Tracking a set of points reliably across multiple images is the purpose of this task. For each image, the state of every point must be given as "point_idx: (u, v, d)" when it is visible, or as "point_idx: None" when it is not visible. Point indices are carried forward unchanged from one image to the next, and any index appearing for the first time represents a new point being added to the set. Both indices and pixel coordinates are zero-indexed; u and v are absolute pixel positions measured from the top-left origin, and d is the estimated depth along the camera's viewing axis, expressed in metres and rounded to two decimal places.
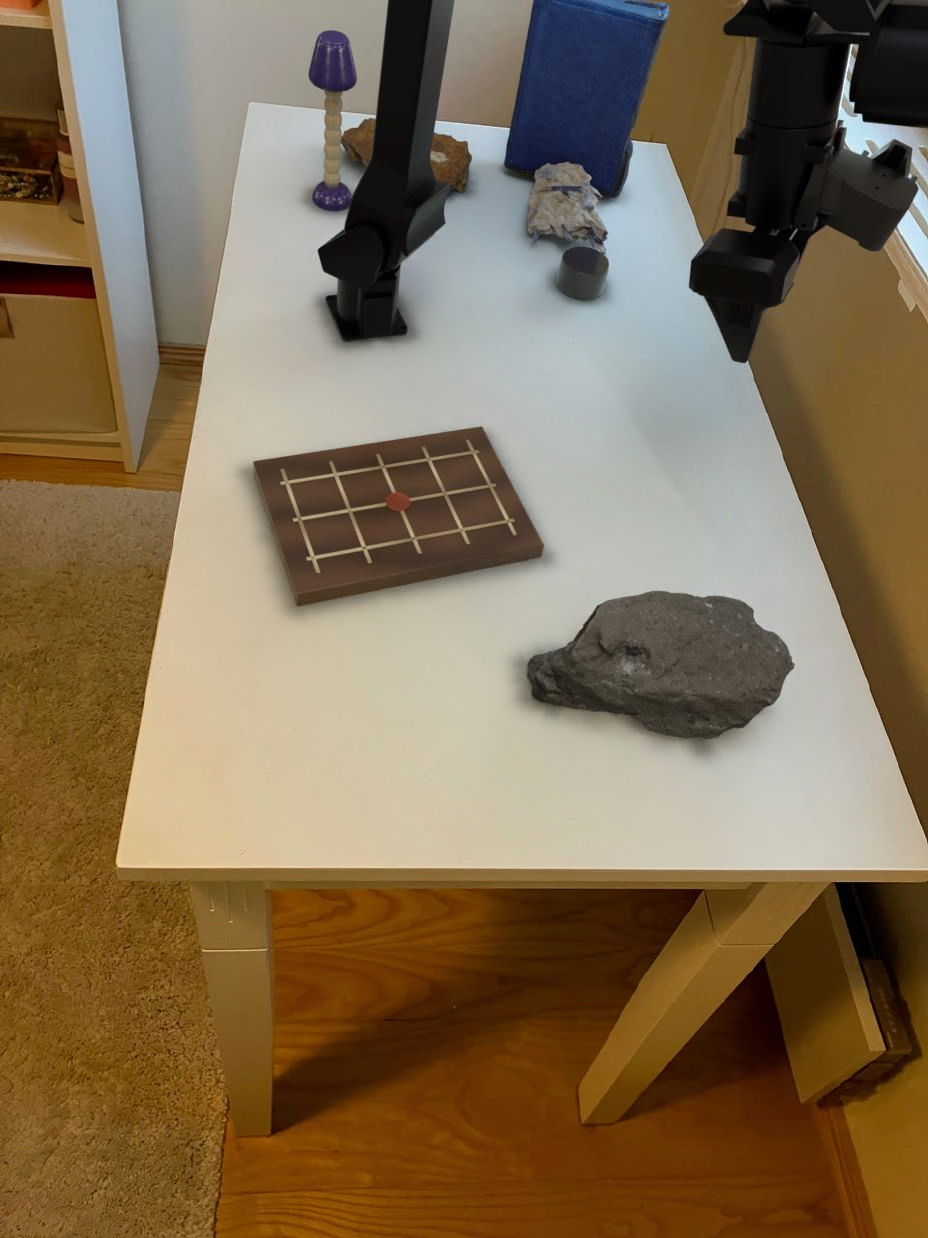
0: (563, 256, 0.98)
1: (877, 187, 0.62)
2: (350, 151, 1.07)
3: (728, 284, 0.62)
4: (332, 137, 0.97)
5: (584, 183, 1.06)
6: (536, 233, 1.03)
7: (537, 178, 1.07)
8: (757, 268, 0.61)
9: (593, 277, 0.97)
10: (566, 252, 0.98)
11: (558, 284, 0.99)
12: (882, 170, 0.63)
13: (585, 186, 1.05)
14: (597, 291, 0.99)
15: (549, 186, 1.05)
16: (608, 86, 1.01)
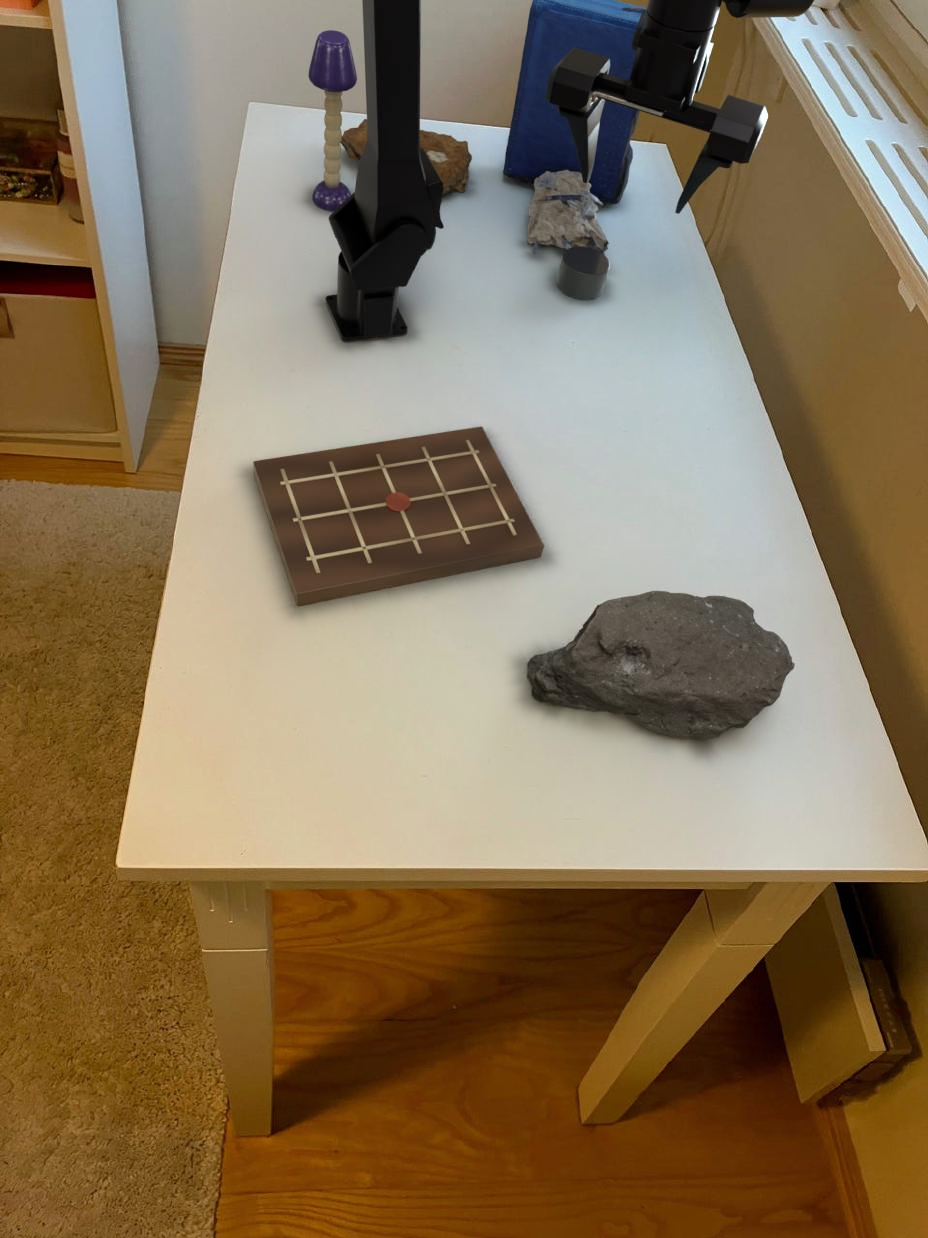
0: (563, 256, 0.98)
1: None
2: (350, 151, 1.07)
3: (758, 140, 0.83)
4: (332, 137, 0.97)
5: (584, 191, 1.05)
6: (536, 244, 1.03)
7: (536, 187, 1.07)
8: (766, 116, 0.83)
9: (593, 277, 0.97)
10: (566, 252, 0.98)
11: (558, 284, 0.99)
12: None
13: (585, 195, 1.05)
14: (597, 291, 0.99)
15: (549, 195, 1.05)
16: None
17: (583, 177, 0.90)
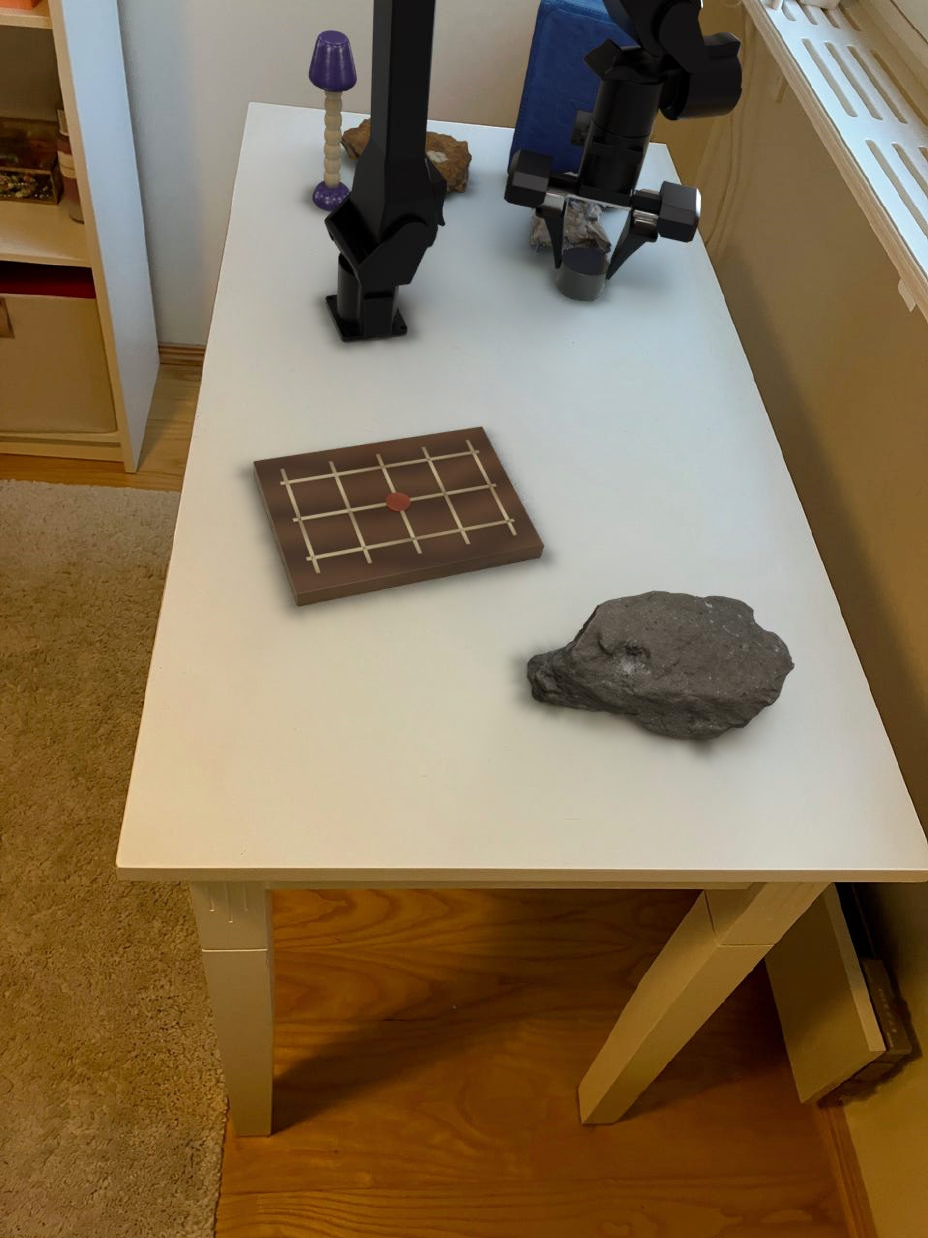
0: (562, 256, 0.98)
1: None
2: (350, 151, 1.07)
3: None
4: (332, 137, 0.97)
5: None
6: (539, 245, 1.02)
7: None
8: (699, 197, 0.93)
9: (592, 278, 0.97)
10: (565, 253, 0.98)
11: (557, 284, 0.99)
12: None
13: None
14: (596, 292, 0.99)
15: None
16: None
17: (556, 264, 0.99)
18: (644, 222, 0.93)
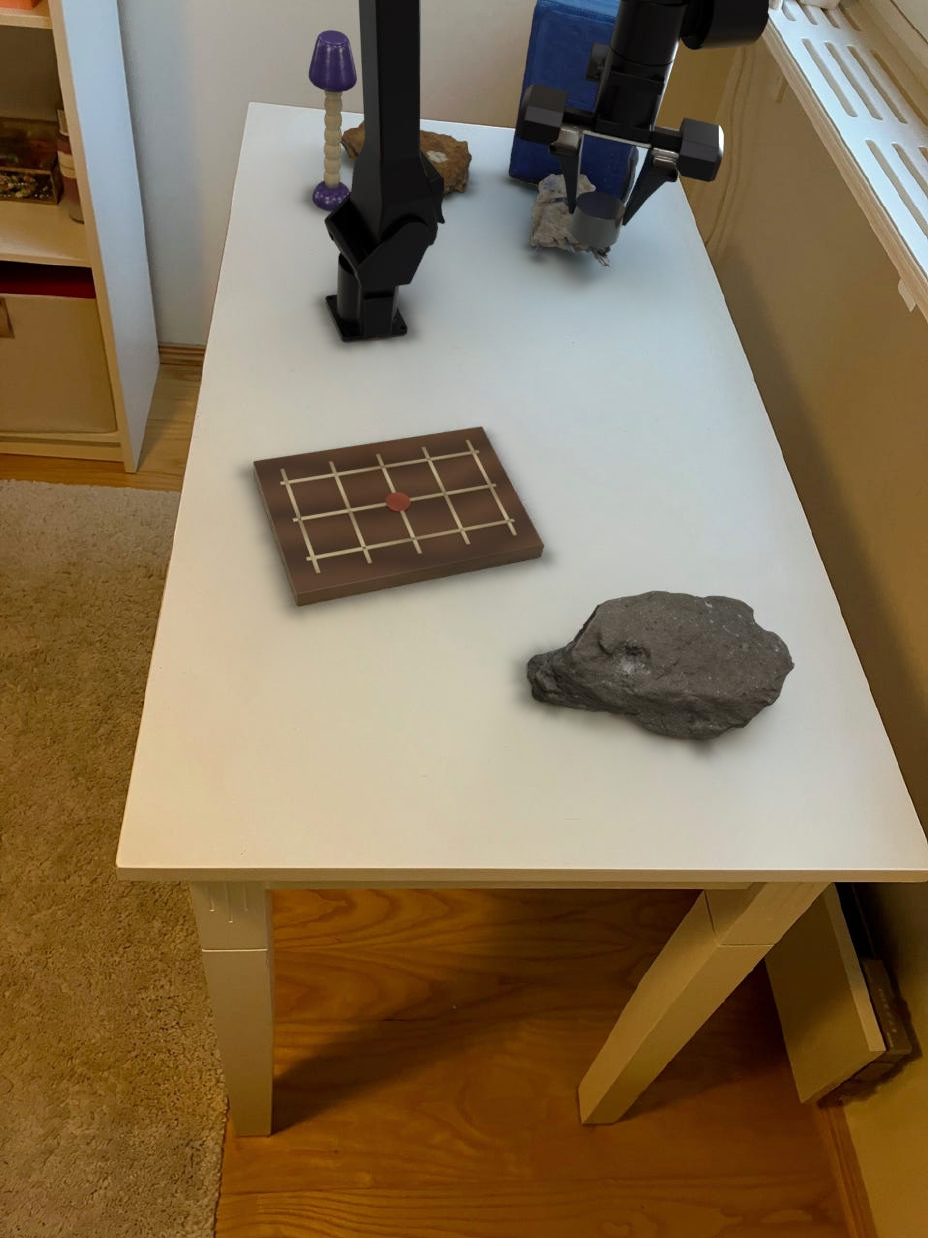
0: (577, 200, 0.93)
1: None
2: (350, 151, 1.07)
3: None
4: (332, 137, 0.97)
5: None
6: (539, 246, 1.03)
7: (541, 189, 1.06)
8: (722, 135, 0.88)
9: (608, 223, 0.92)
10: (579, 197, 0.93)
11: (571, 231, 0.95)
12: None
13: None
14: (612, 238, 0.94)
15: (552, 197, 1.04)
16: None
17: (570, 209, 0.94)
18: (664, 161, 0.88)
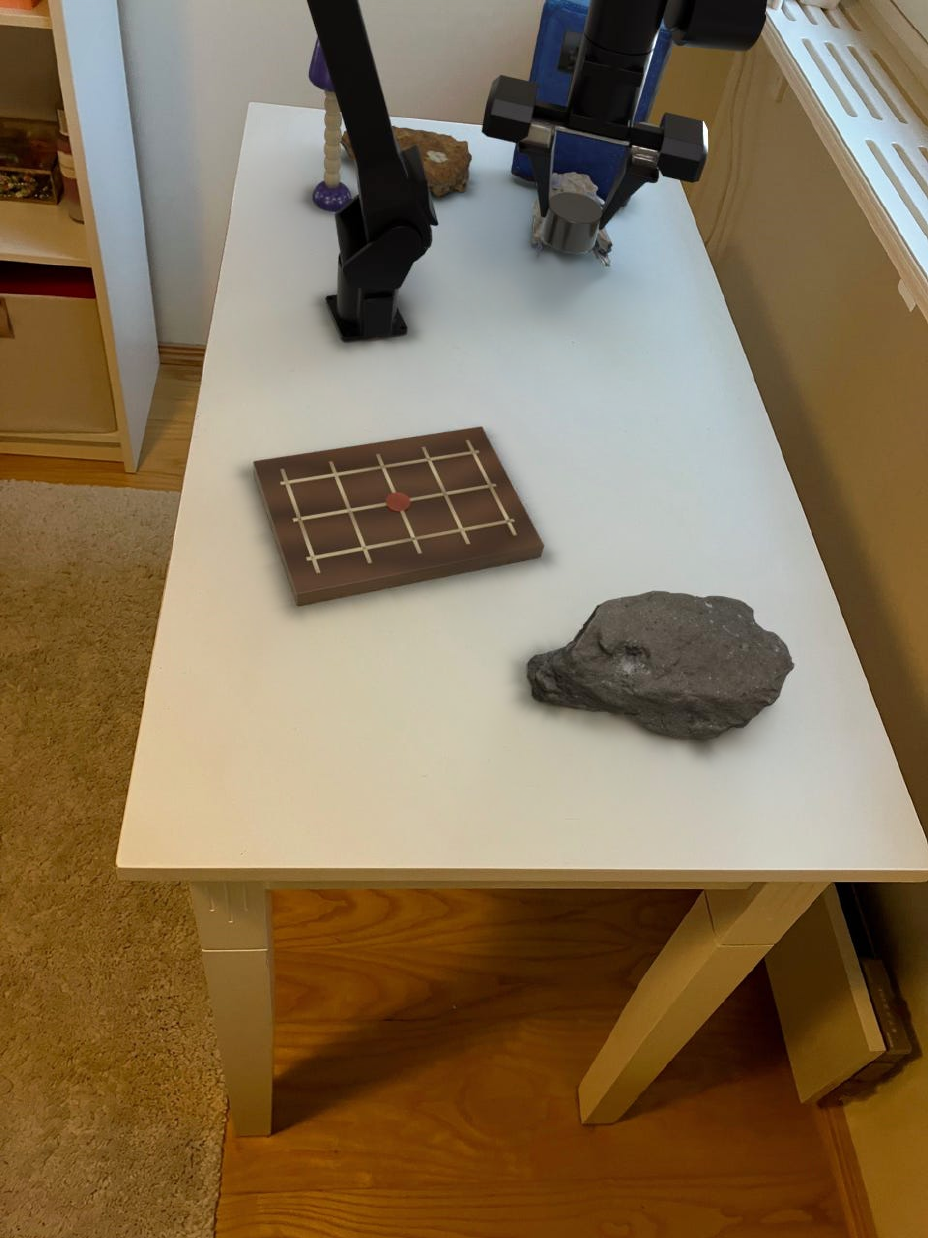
0: (549, 202, 0.86)
1: None
2: (350, 151, 1.07)
3: None
4: (332, 137, 0.97)
5: (590, 194, 1.04)
6: (540, 244, 1.03)
7: None
8: (706, 131, 0.81)
9: (583, 226, 0.85)
10: (552, 198, 0.86)
11: (544, 235, 0.87)
12: None
13: (591, 197, 1.04)
14: (588, 243, 0.86)
15: None
16: None
17: (542, 212, 0.86)
18: (643, 159, 0.81)
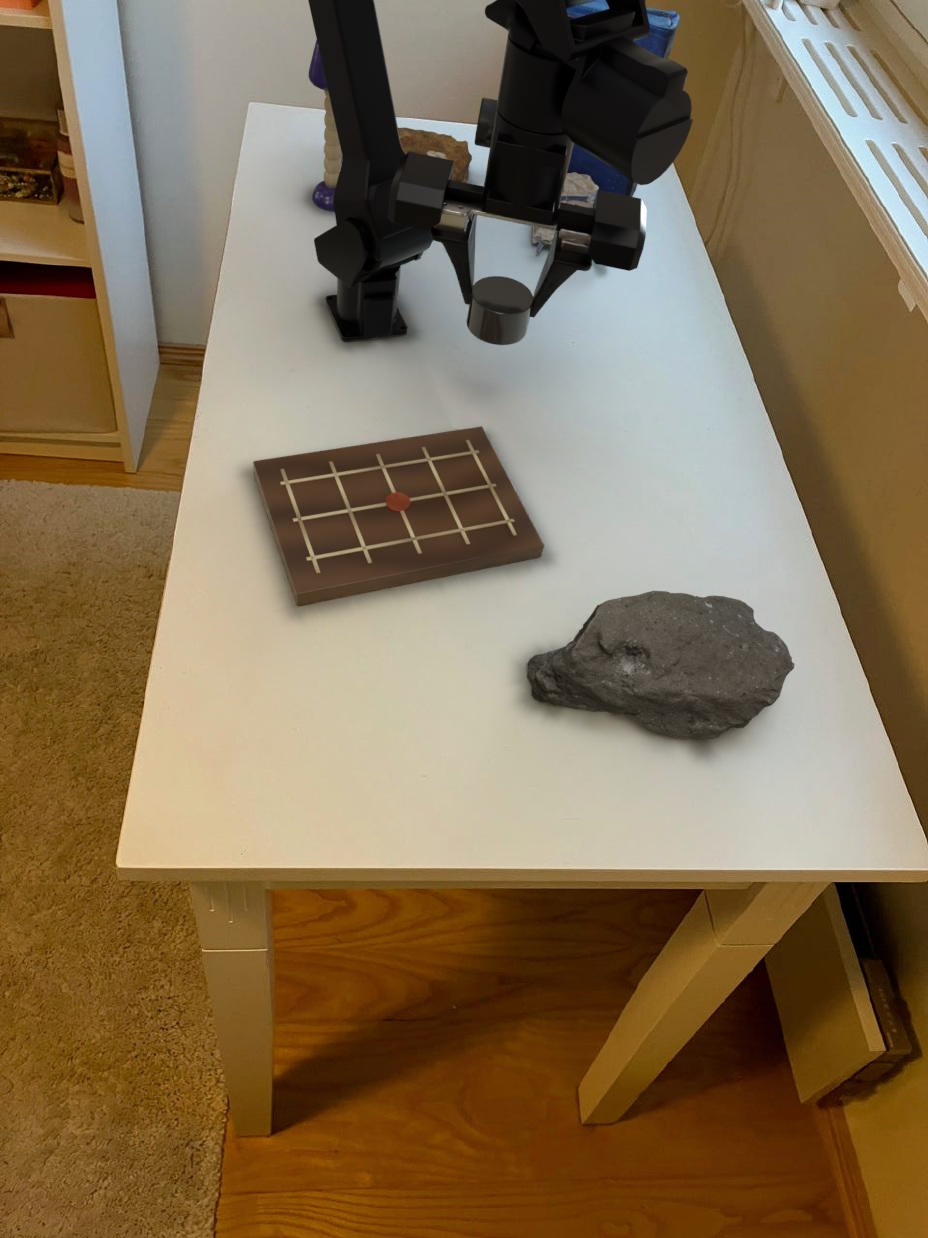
0: (473, 289, 0.76)
1: None
2: None
3: None
4: (332, 137, 0.97)
5: (591, 193, 1.04)
6: (540, 243, 1.03)
7: None
8: (645, 211, 0.71)
9: (511, 317, 0.75)
10: (476, 284, 0.76)
11: (468, 325, 0.77)
12: None
13: (592, 197, 1.04)
14: (518, 334, 0.77)
15: None
16: None
17: (465, 299, 0.77)
18: (574, 245, 0.71)
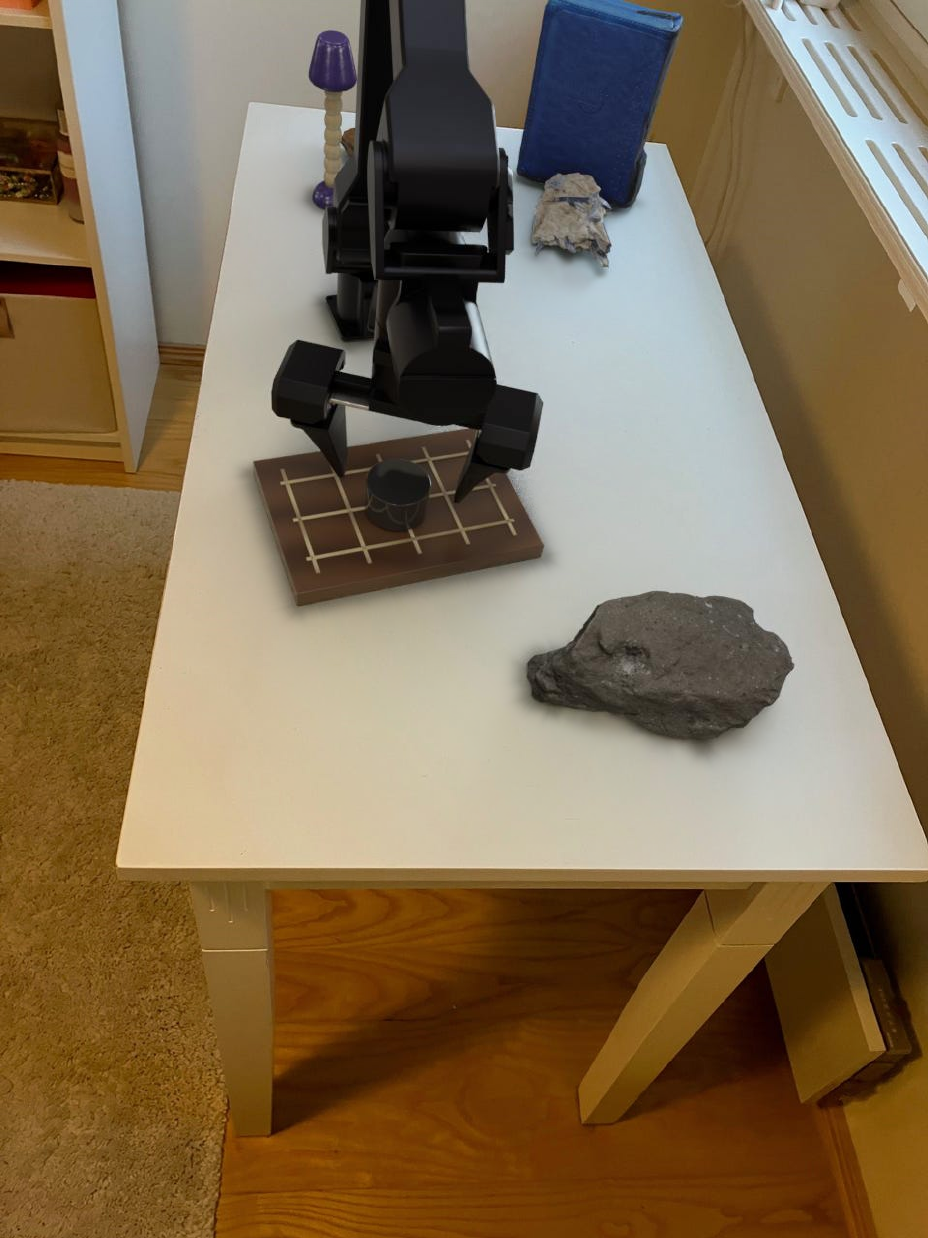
0: (368, 476, 0.74)
1: None
2: (350, 151, 1.07)
3: None
4: (332, 137, 0.97)
5: (592, 194, 1.04)
6: (540, 244, 1.03)
7: (546, 188, 1.07)
8: (541, 406, 0.68)
9: (404, 508, 0.73)
10: (372, 470, 0.74)
11: (365, 509, 0.75)
12: None
13: (593, 198, 1.04)
14: (415, 521, 0.74)
15: (556, 196, 1.04)
16: (619, 96, 1.00)
17: (337, 474, 0.74)
18: None
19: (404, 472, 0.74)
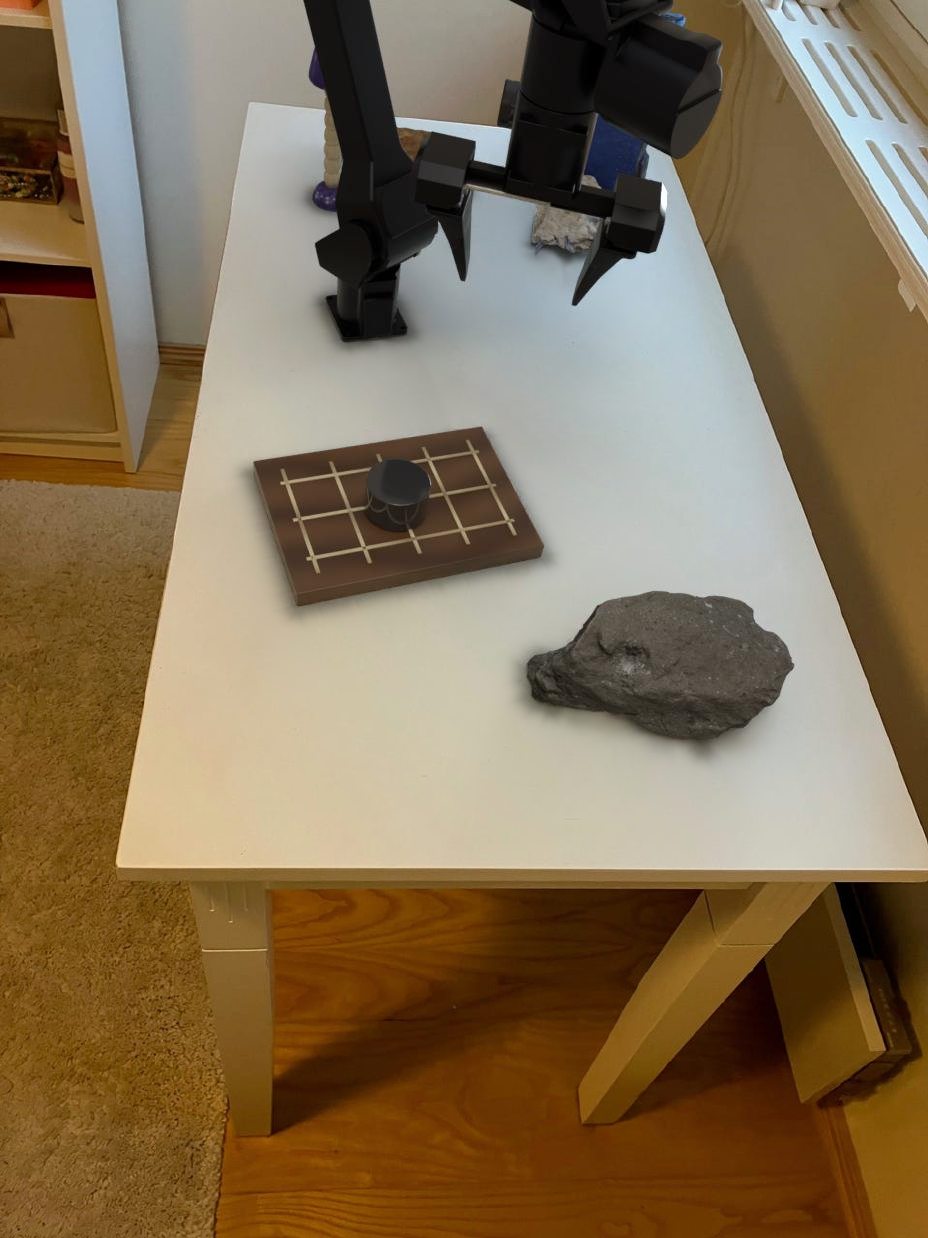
0: (368, 476, 0.74)
1: None
2: None
3: None
4: (332, 137, 0.97)
5: None
6: (539, 243, 1.03)
7: None
8: (665, 194, 0.71)
9: (404, 508, 0.73)
10: (372, 470, 0.74)
11: (365, 509, 0.75)
12: None
13: None
14: (415, 521, 0.74)
15: None
16: None
17: (460, 275, 0.77)
18: None
19: (404, 472, 0.74)
